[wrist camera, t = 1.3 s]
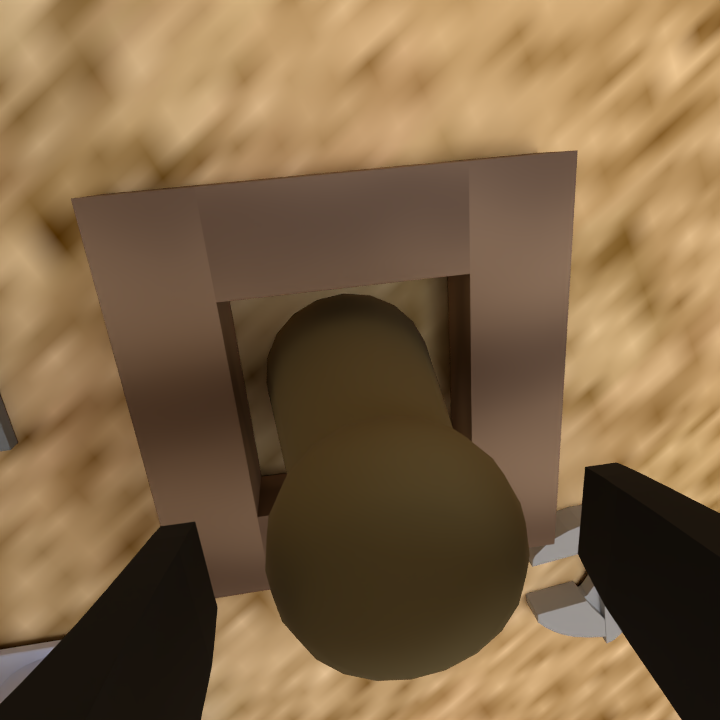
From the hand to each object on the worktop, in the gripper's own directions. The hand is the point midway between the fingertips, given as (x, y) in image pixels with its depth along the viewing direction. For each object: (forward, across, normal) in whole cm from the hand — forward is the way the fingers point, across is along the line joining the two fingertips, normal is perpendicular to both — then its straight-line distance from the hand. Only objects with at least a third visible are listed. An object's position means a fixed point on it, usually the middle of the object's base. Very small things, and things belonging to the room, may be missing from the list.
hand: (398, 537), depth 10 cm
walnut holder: (+10, 0, +1) cm, 10 cm away
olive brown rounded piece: (+10, 0, +1) cm, 10 cm away
